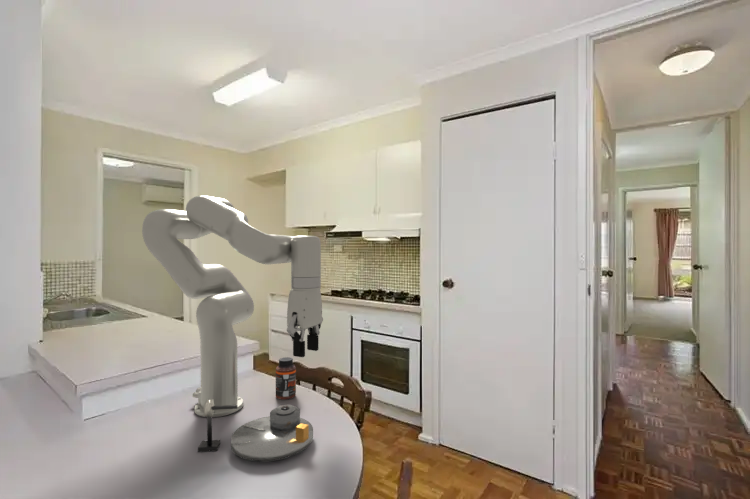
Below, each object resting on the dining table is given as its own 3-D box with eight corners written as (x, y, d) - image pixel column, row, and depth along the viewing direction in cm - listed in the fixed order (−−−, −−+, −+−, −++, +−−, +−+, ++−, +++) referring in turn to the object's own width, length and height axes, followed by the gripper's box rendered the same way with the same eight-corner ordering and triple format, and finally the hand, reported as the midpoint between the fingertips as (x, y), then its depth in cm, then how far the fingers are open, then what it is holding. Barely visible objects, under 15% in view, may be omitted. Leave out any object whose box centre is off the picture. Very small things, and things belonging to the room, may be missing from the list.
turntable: (212, 450, 84) (212, 429, 84) (266, 416, 101) (266, 398, 101) (281, 469, 77) (281, 446, 77) (327, 429, 94) (327, 410, 93)
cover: (263, 427, 91) (263, 411, 91) (282, 415, 98) (282, 400, 97) (288, 433, 88) (288, 416, 88) (305, 420, 95) (305, 405, 95)
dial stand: (197, 452, 85) (197, 403, 85) (202, 444, 89) (202, 397, 88) (235, 450, 86) (235, 402, 86) (239, 442, 90) (239, 395, 89)
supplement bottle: (291, 401, 113) (290, 362, 113) (271, 399, 114) (271, 361, 114) (299, 393, 119) (299, 356, 119) (280, 392, 120) (280, 355, 120)
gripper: (311, 280, 110) (311, 343, 110) (273, 286, 94) (273, 360, 95) (335, 281, 107) (335, 346, 107) (299, 287, 91) (299, 364, 92)
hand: (306, 352), depth 101 cm, fingers open, 5 cm apart
